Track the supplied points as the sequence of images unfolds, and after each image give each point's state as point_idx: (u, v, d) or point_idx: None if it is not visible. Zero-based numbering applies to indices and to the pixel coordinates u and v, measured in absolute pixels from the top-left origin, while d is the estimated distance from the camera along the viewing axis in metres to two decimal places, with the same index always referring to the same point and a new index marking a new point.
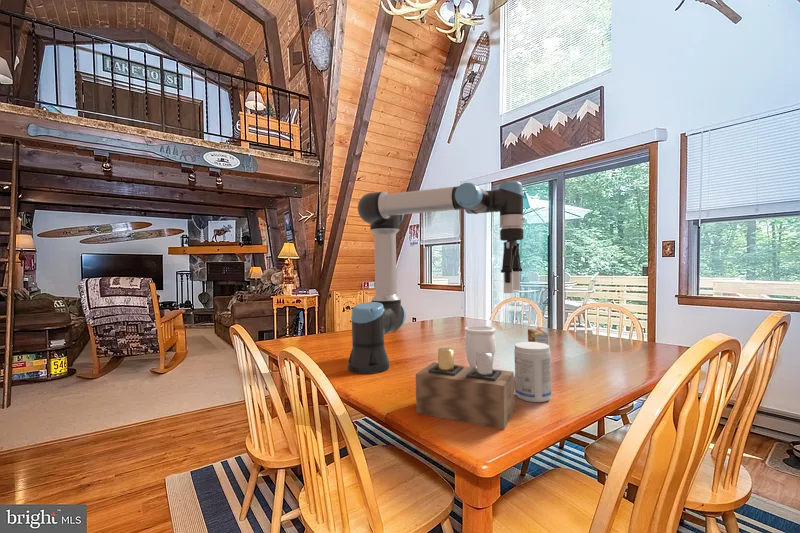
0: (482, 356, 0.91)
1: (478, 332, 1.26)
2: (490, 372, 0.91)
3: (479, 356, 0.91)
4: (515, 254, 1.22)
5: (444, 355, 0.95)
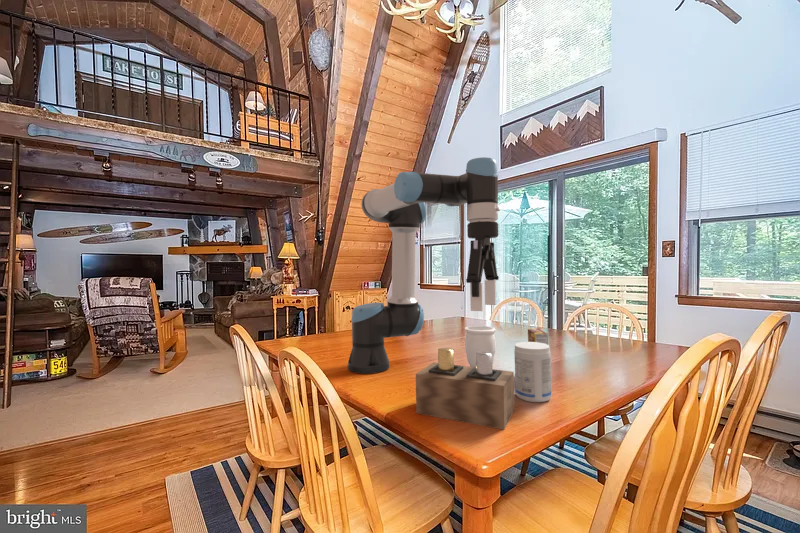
0: (482, 356, 0.91)
1: (478, 332, 1.26)
2: (490, 372, 0.91)
3: (479, 356, 0.91)
4: (486, 257, 0.89)
5: (444, 355, 0.95)
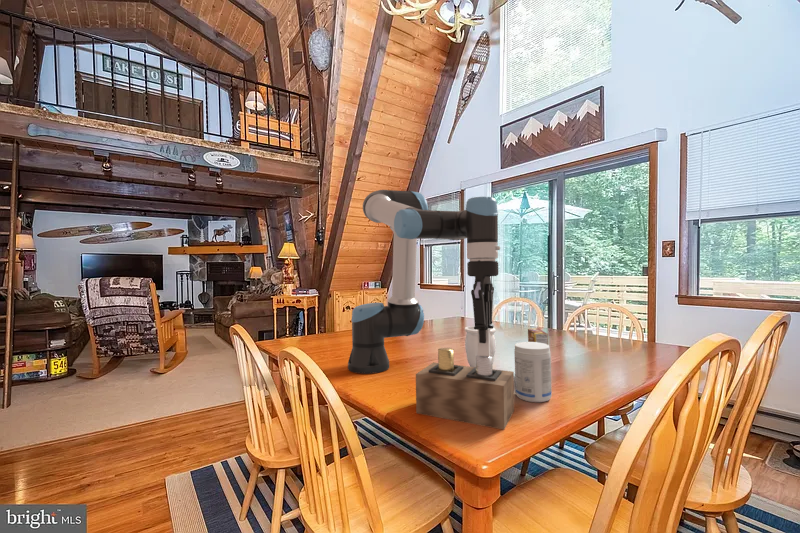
0: (482, 359, 0.91)
1: None
2: (490, 375, 0.91)
3: (479, 359, 0.91)
4: (489, 299, 0.91)
5: (444, 355, 0.95)
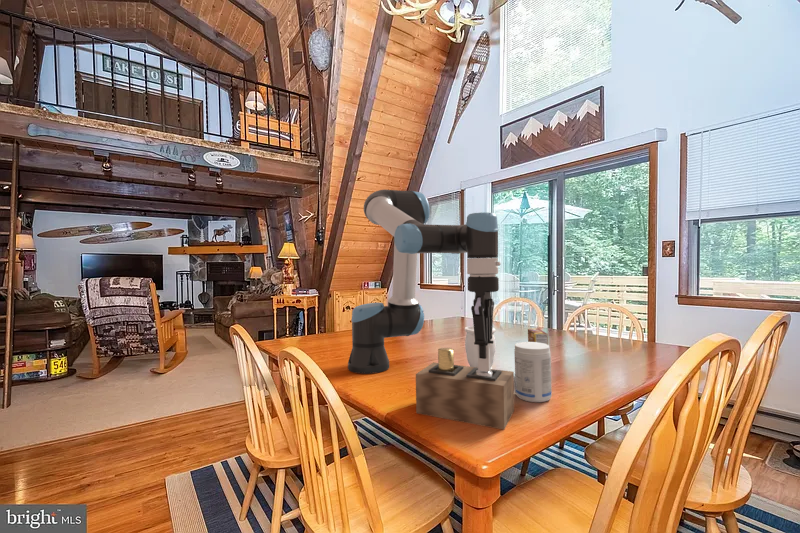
0: (482, 374, 0.91)
1: None
2: None
3: (479, 374, 0.91)
4: (489, 314, 0.91)
5: (444, 355, 0.95)
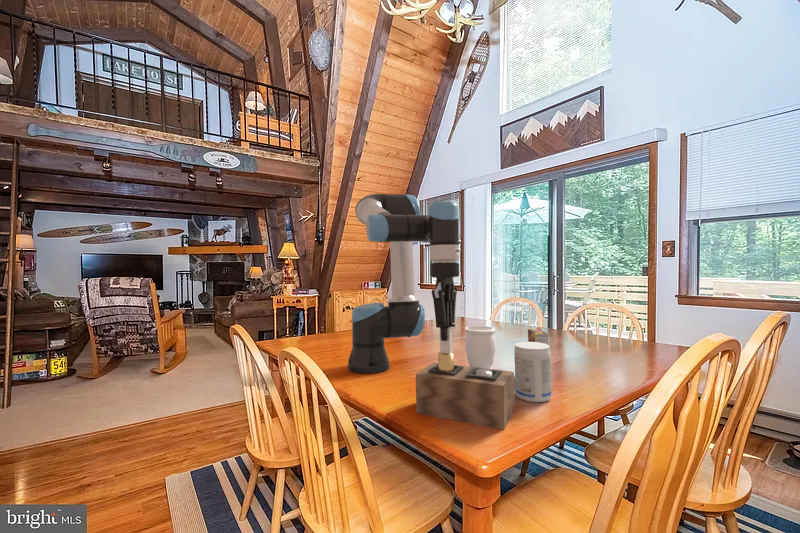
0: (482, 375, 0.91)
1: (478, 332, 1.26)
2: None
3: (479, 374, 0.91)
4: (449, 298, 0.95)
5: (444, 359, 0.95)
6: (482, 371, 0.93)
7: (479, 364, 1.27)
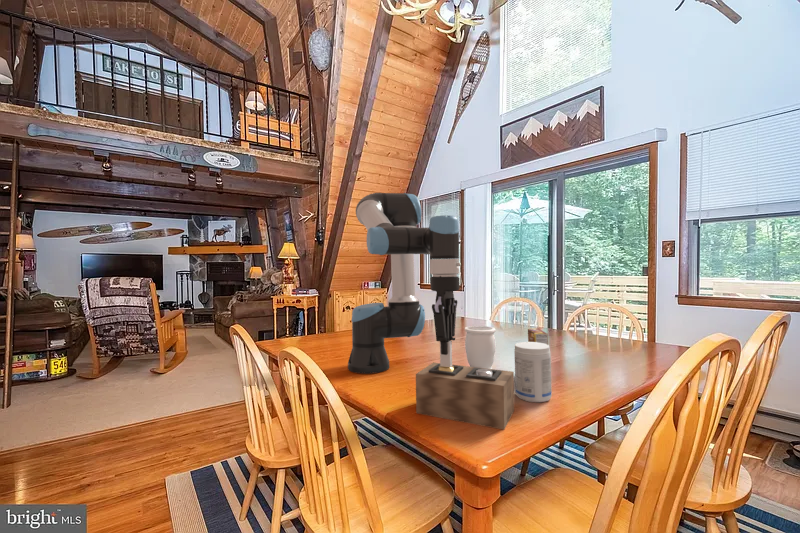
0: (482, 375, 0.91)
1: (478, 332, 1.26)
2: None
3: (479, 374, 0.91)
4: (450, 312, 0.95)
5: None
6: (482, 371, 0.93)
7: (479, 364, 1.27)
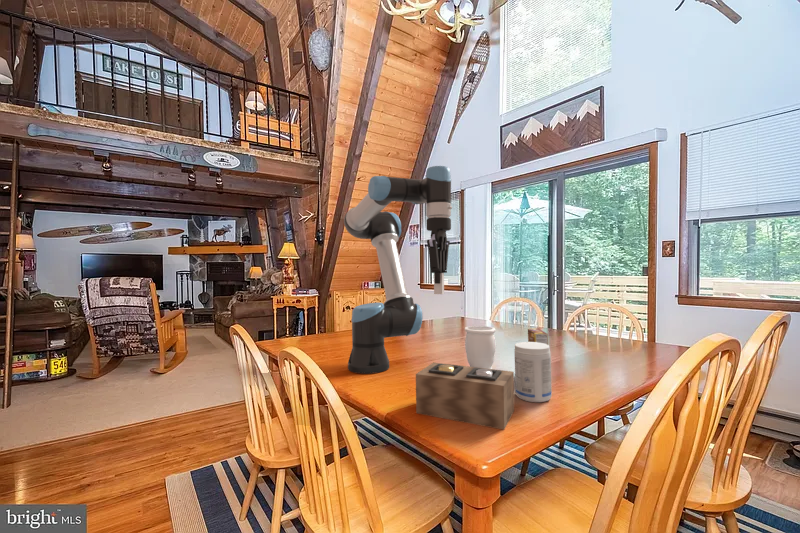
0: (482, 375, 0.91)
1: (478, 332, 1.26)
2: None
3: (479, 374, 0.91)
4: (442, 248, 1.14)
5: None
6: (482, 371, 0.93)
7: (479, 364, 1.27)
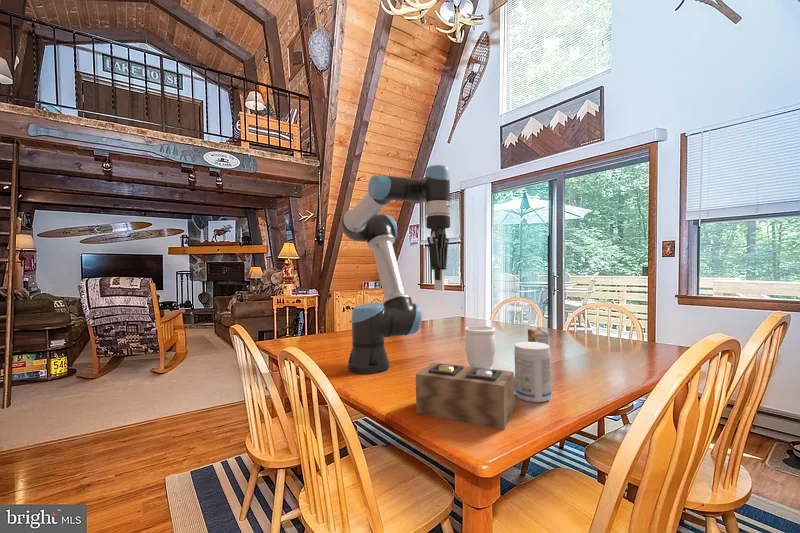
0: (482, 375, 0.91)
1: (478, 332, 1.26)
2: None
3: (479, 374, 0.91)
4: (442, 245, 1.16)
5: None
6: (482, 371, 0.93)
7: (479, 364, 1.27)
